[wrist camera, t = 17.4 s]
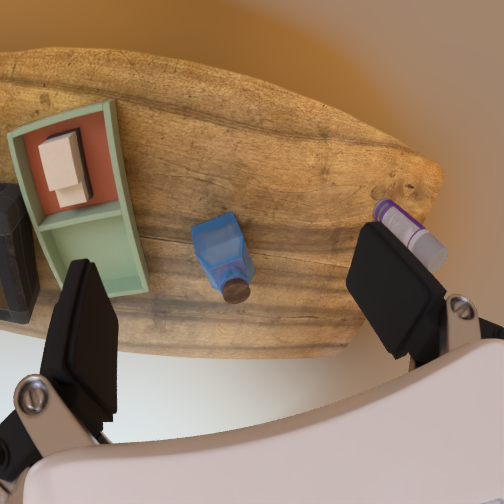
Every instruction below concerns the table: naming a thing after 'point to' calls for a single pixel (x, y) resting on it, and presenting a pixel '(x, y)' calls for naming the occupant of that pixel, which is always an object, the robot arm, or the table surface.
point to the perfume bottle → (224, 257)
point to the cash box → (16, 258)
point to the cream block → (66, 167)
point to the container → (411, 234)
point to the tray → (88, 213)
